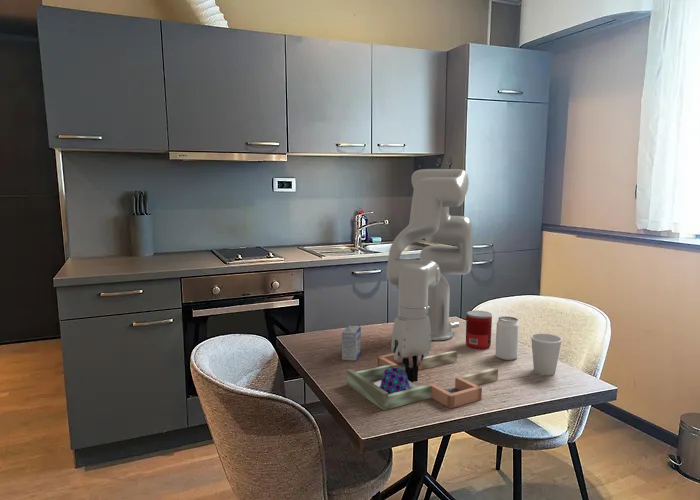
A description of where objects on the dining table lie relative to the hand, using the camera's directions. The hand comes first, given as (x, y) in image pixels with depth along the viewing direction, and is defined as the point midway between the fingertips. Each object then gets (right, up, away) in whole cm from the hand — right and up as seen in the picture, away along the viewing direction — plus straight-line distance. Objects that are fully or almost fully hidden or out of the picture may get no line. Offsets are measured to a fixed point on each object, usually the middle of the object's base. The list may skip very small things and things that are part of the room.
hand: (411, 380), depth 132 cm
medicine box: (-16, +1, +22) cm, 27 cm away
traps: (+4, -1, +3) cm, 5 cm away
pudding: (-5, -2, -3) cm, 6 cm away
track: (+4, -1, +3) cm, 5 cm away
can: (+32, +1, +22) cm, 39 cm away
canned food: (+26, +2, +32) cm, 42 cm away
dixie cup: (+39, 0, +10) cm, 40 cm away
